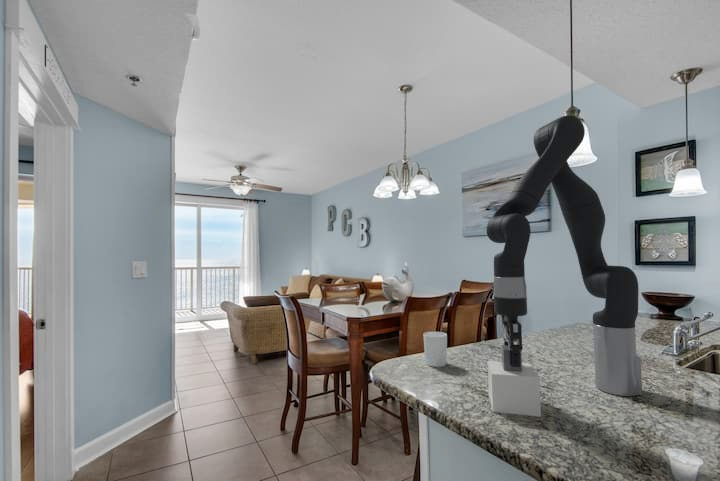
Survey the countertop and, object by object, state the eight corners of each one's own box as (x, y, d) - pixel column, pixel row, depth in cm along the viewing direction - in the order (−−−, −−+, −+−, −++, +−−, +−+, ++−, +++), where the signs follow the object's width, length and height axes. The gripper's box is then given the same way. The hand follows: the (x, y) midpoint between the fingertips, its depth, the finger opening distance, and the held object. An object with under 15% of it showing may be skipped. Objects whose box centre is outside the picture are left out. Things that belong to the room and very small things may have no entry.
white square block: (531, 398, 87) (529, 343, 88) (541, 416, 78) (538, 355, 78) (488, 394, 90) (487, 341, 91) (493, 412, 80) (491, 352, 81)
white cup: (448, 368, 111) (447, 337, 112) (423, 367, 113) (423, 336, 113) (447, 360, 119) (446, 331, 120) (424, 359, 121) (423, 331, 121)
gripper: (532, 298, 77) (535, 372, 76) (520, 291, 91) (523, 353, 90) (497, 298, 79) (499, 369, 78) (490, 291, 93) (492, 352, 92)
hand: (512, 361), depth 84 cm, fingers open, 8 cm apart
